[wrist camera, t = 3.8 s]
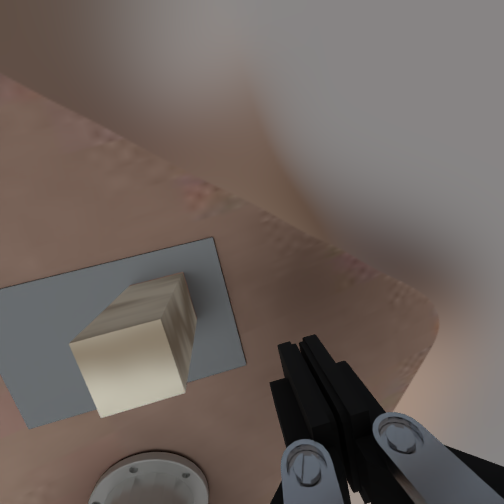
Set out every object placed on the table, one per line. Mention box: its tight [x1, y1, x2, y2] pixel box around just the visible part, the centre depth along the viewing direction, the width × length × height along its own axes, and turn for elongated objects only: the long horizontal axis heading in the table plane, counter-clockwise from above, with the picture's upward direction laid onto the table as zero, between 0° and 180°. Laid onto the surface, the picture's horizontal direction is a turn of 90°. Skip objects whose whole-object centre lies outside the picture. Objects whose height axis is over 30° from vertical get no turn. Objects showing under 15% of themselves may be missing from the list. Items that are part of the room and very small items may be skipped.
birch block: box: [69, 272, 197, 418], centre depth 19 cm, size 5×5×10 cm
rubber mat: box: [0, 237, 246, 429], centre depth 24 cm, size 14×22×1 cm, turn 103°
